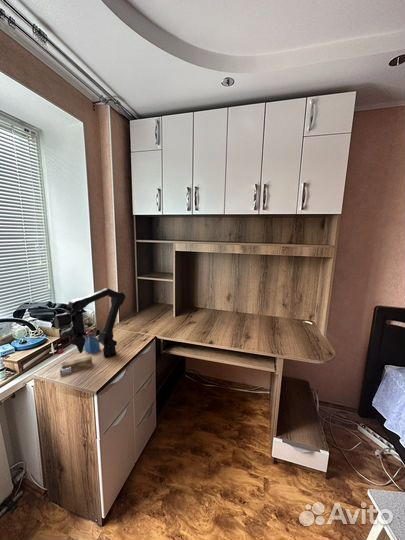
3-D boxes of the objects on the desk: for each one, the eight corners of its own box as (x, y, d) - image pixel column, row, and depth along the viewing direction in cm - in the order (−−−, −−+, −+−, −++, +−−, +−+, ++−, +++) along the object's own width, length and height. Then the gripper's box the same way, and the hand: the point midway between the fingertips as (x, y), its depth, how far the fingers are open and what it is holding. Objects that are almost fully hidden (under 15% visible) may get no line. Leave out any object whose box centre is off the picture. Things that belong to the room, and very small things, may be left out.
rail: (92, 363, 130) (91, 356, 129) (92, 366, 126) (91, 359, 125) (64, 370, 124) (63, 362, 123) (63, 374, 120) (62, 366, 120)
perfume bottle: (85, 351, 144) (83, 334, 142) (94, 347, 149) (92, 330, 148) (91, 354, 141) (88, 335, 139) (100, 349, 146) (97, 332, 144)
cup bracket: (72, 366, 127) (72, 361, 127) (71, 373, 120) (70, 367, 120) (62, 368, 125) (61, 363, 125) (60, 376, 118) (59, 370, 118)
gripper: (63, 320, 128) (66, 346, 130) (58, 331, 111) (62, 360, 113) (85, 316, 132) (88, 341, 134) (83, 326, 116) (87, 355, 118)
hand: (81, 349), depth 125 cm, fingers open, 9 cm apart
